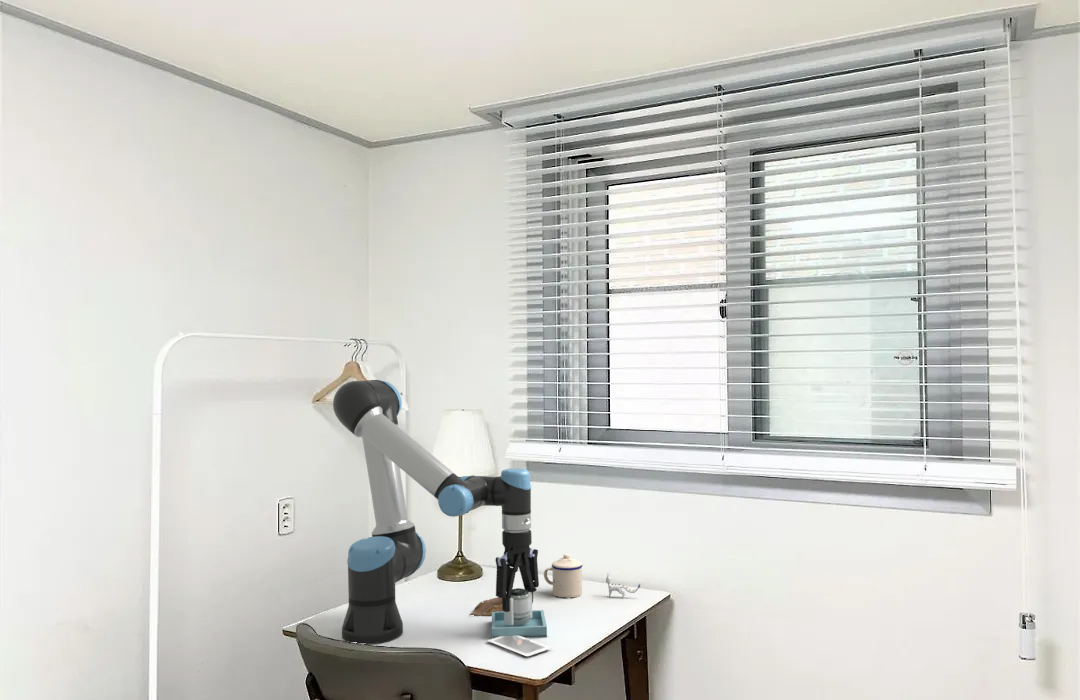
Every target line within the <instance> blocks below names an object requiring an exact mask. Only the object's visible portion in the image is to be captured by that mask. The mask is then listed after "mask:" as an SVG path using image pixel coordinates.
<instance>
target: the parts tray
mask: <svg viewBox="0 0 1080 700" xmlns="http://www.w3.org/2000/svg"><path fill="white" fill-rule="evenodd" d="M516 635H519V636H522V637H525V638H526V637H530V638H546V637H548V628H547V622H546V616H545V612H544V609H537V610H534V609H532V618H529V622H528V623H526V624H522V625H509V624H506V623H504V611H501V612H492V616H491V639H492V638H497V637H500V636H516Z"/></svg>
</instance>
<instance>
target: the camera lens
mask: <svg viewBox="0 0 1080 700" xmlns="http://www.w3.org/2000/svg"><path fill="white" fill-rule="evenodd" d="M506 594H507V592H506ZM511 598H513V608H514V625H522V624H526V623H528V622H529V618H530V593H529V592H528V591H527V590H525V589H524V588H517V587H516V588H513V589H512V594H511Z"/></svg>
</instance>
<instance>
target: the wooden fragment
mask: <svg viewBox="0 0 1080 700" xmlns="http://www.w3.org/2000/svg"><path fill="white" fill-rule="evenodd" d="M492 612H503V609H502V598H500V597H497V596H496V597H494V598H490V599H485V600H482V601H480V602H479V603H478V604H477V605H476V607H474V609H473V610H472V611H471V612H470V613H469V615H474V616H473V617H479V616H481V617H492Z"/></svg>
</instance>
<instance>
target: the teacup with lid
mask: <svg viewBox="0 0 1080 700" xmlns="http://www.w3.org/2000/svg"><path fill="white" fill-rule="evenodd" d="M582 567H583V562H581V561H580V560H578V559H575V558H573V557H572V556H571V555H570V553H564V554H563V557H560V558H559V559H557V560H555V561H553V562H552V563H551V567H548V568H546V569H544V571H543V577H544V578H543V579H544V580H545V582H546V584H548V585H551V586H552V594H553V596H554V595H555V596H554V597H556V596H558V597H557V598H560V597H566V598H565V599H570V598H569V597H575V598H578V597H581V596H582V595H581V594H583V568H582ZM548 571H552V581H551V580H550V579H549V577H548ZM577 596H578V597H577Z"/></svg>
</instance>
